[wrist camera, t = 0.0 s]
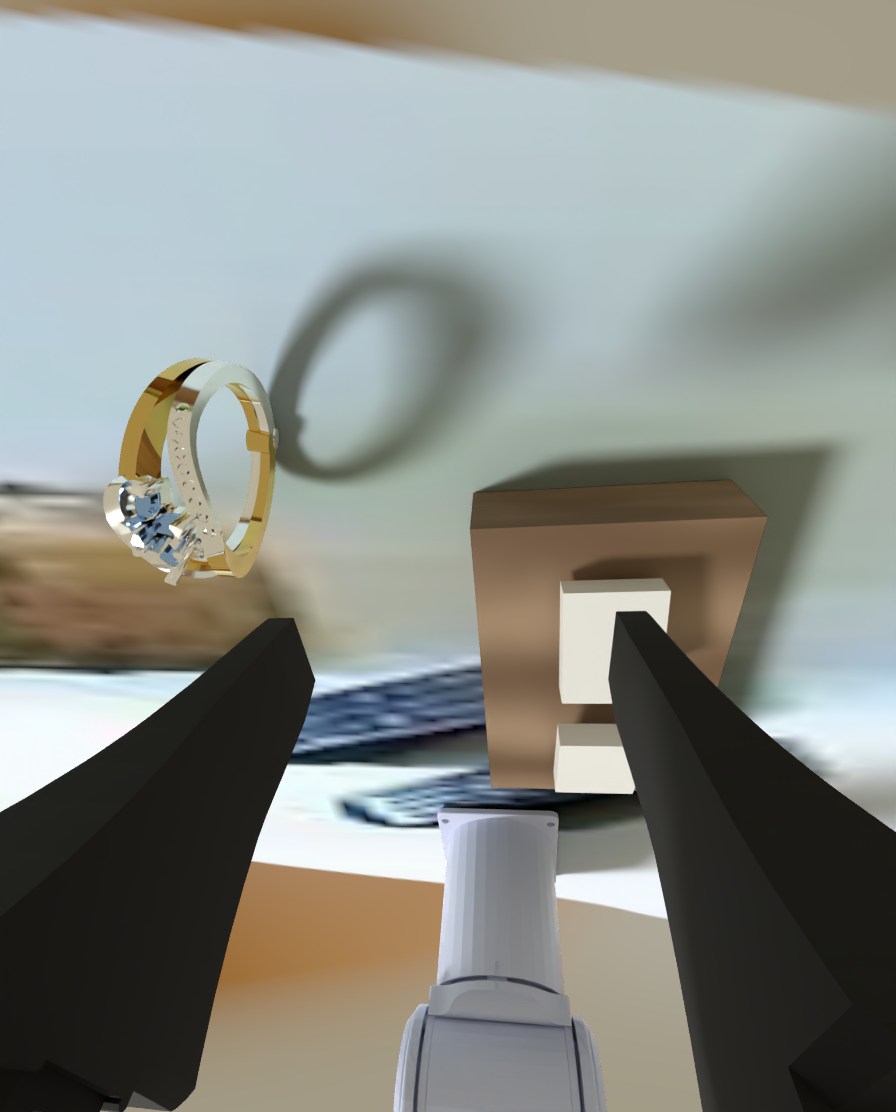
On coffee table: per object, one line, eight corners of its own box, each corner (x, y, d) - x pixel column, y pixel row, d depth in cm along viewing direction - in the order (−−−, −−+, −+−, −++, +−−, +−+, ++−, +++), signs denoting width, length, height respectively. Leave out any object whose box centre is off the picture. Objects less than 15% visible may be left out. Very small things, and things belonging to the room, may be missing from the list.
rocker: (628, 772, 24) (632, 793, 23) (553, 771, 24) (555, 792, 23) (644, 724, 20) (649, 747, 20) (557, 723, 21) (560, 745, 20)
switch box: (675, 741, 27) (697, 803, 24) (491, 739, 29) (491, 798, 26) (739, 479, 19) (786, 525, 16) (473, 492, 20) (469, 537, 17)
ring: (308, 517, 21) (221, 643, 15) (235, 504, 21) (115, 625, 15) (307, 350, 17) (190, 418, 11) (219, 333, 17) (46, 391, 11)
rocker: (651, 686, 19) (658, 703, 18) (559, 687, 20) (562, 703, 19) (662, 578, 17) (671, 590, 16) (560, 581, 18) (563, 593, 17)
